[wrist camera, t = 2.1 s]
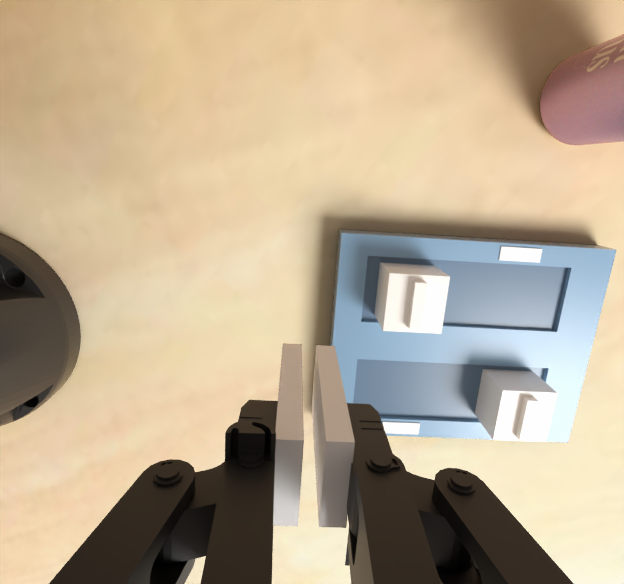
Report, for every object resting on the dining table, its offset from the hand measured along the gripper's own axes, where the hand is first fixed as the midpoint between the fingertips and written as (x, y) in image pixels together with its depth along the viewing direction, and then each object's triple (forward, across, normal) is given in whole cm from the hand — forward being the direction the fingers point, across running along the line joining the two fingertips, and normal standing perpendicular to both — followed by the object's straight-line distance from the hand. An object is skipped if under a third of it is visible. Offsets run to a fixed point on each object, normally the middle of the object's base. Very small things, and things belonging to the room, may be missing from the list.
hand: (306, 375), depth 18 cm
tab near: (+15, +8, 0) cm, 17 cm away
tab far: (+15, +16, -8) cm, 24 cm away
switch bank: (+16, +12, -4) cm, 21 cm away
